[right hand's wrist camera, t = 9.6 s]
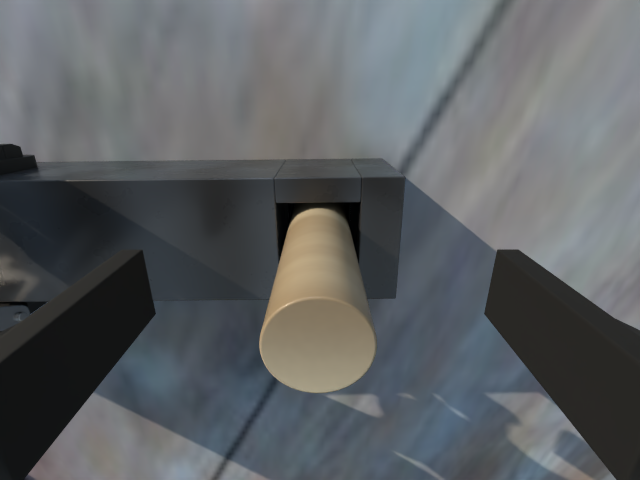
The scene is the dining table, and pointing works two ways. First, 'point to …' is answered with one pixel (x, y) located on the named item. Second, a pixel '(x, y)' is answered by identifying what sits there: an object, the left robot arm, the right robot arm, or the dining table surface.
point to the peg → (318, 305)
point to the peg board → (188, 223)
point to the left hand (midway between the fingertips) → (38, 220)
